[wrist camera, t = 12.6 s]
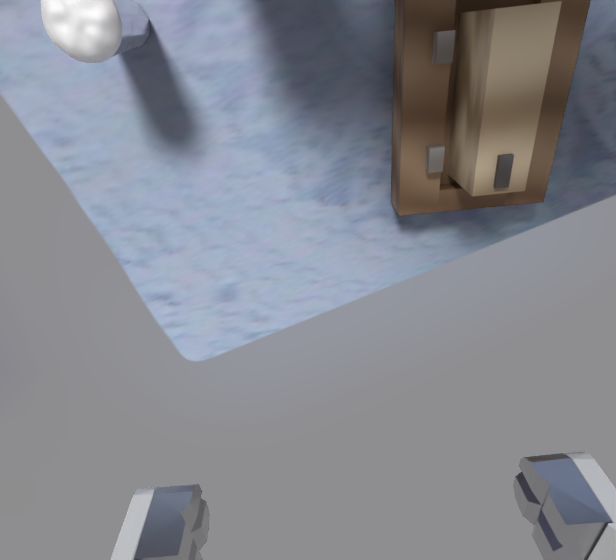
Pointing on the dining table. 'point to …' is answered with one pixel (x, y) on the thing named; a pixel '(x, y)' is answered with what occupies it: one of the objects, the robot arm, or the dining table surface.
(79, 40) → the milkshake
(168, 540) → the robot arm
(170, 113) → the dining table surface
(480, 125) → the door
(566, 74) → the frame
